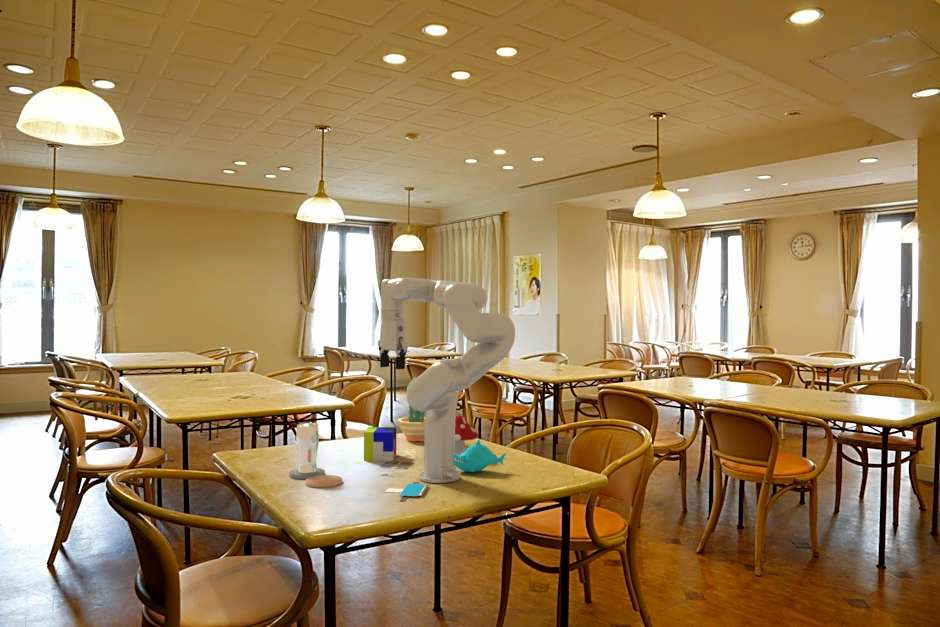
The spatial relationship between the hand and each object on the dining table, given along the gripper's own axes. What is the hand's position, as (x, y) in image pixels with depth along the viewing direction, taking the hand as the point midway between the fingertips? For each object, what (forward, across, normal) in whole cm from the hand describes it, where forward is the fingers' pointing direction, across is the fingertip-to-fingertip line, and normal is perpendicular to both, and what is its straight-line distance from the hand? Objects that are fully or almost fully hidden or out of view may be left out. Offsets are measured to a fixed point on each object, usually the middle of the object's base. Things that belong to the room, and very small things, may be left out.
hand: (392, 367), depth 219 cm
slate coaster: (+33, +9, +26) cm, 43 cm away
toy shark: (+34, -21, -20) cm, 44 cm away
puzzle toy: (+34, +16, -5) cm, 38 cm away
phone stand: (+34, -26, +11) cm, 44 cm away
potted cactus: (+34, +35, -33) cm, 59 cm away
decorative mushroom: (+34, 0, -28) cm, 44 cm away
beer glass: (+32, +9, +26) cm, 42 cm away
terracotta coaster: (+33, -3, +26) cm, 42 cm away
